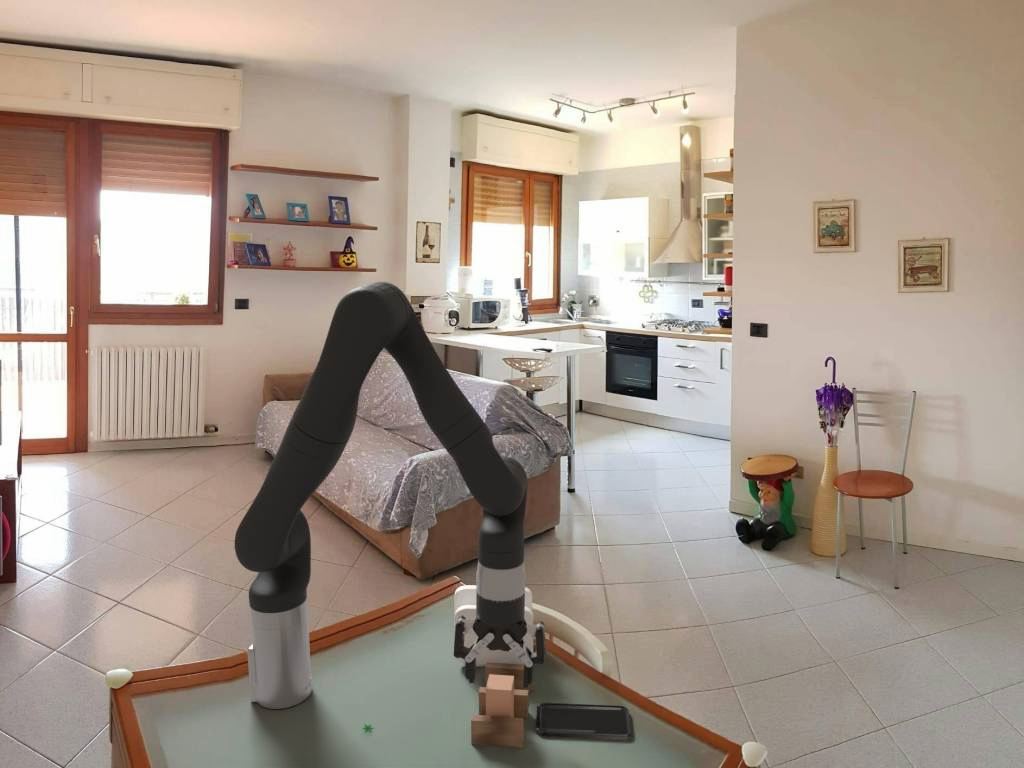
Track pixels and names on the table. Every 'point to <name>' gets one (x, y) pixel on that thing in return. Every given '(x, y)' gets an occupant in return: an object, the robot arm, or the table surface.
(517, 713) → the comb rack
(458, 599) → the cable organizer
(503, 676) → the plug block
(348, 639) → the table surface
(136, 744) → the table surface
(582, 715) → the phone
